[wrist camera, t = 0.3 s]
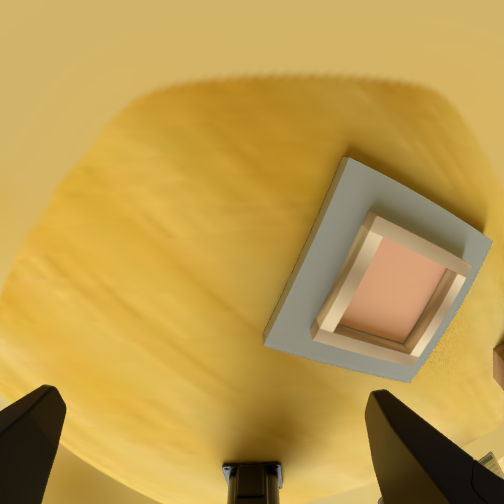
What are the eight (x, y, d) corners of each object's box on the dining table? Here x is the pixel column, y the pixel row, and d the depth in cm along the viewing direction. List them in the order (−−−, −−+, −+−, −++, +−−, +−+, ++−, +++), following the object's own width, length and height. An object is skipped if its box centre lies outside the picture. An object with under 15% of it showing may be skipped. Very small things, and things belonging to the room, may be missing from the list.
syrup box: (491, 450, 32) (523, 508, 18) (492, 459, 34) (520, 513, 20) (463, 469, 33) (491, 529, 20) (466, 477, 35) (491, 533, 21)
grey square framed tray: (403, 372, 25) (415, 393, 22) (262, 334, 23) (263, 358, 21) (482, 235, 21) (504, 246, 18) (342, 156, 19) (356, 158, 16)
